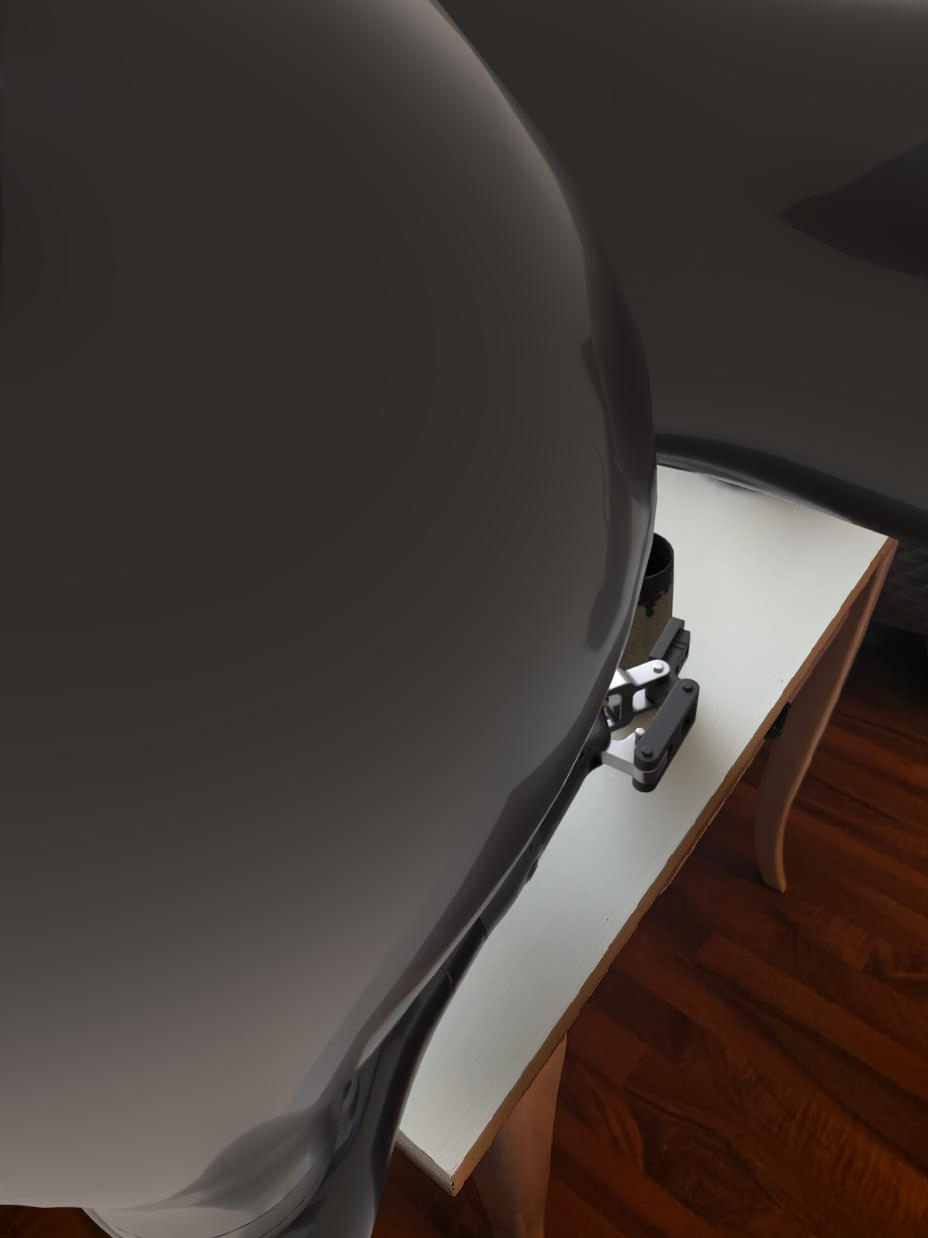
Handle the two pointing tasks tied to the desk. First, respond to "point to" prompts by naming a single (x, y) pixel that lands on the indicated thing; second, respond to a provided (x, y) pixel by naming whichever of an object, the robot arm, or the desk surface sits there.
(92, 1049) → the robot arm
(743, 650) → the desk surface
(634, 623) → the mug
